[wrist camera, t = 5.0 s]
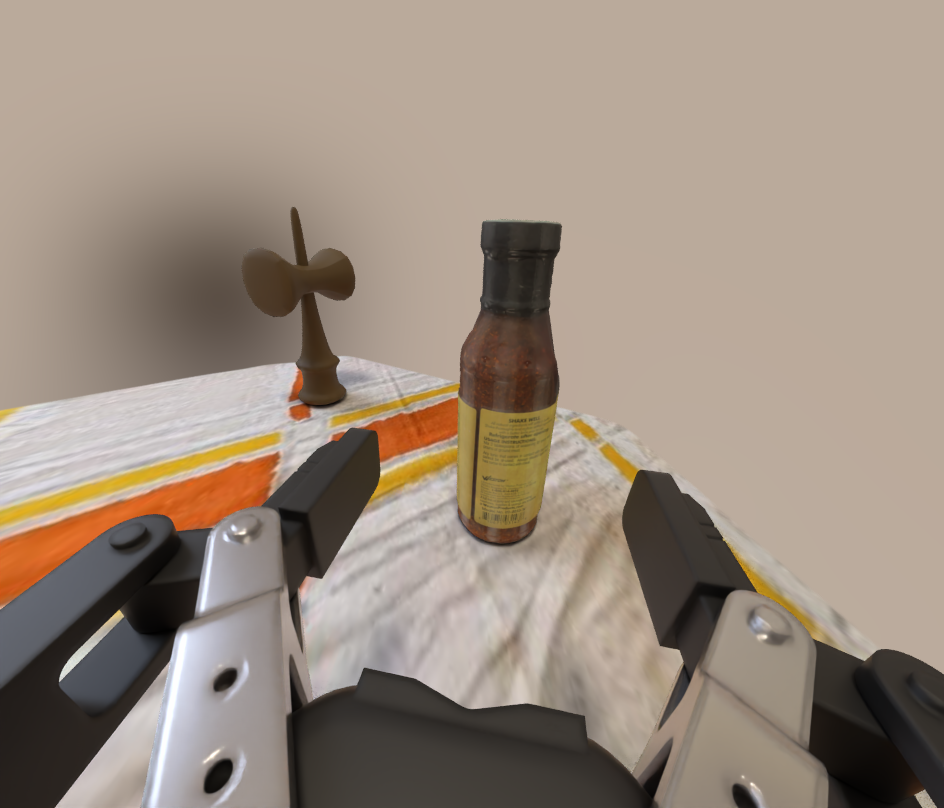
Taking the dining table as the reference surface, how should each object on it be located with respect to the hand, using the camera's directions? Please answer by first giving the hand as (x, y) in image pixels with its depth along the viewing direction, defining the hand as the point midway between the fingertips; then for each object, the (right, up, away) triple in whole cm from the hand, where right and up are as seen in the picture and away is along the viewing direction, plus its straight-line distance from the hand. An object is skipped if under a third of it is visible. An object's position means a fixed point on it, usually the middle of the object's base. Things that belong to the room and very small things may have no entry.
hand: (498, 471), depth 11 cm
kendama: (-19, +3, +30) cm, 36 cm away
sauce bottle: (+1, -7, +16) cm, 17 cm away
